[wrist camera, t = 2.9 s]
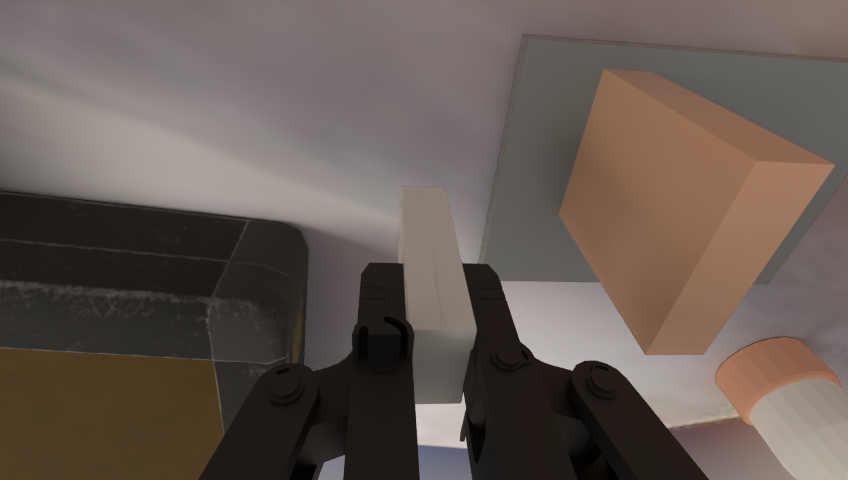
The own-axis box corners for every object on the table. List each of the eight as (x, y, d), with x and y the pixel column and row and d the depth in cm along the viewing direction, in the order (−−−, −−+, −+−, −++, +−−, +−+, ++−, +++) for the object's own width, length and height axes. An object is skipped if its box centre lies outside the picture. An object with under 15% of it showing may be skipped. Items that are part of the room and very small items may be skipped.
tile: (558, 214, 24) (645, 354, 16) (603, 68, 20) (757, 161, 12) (602, 216, 25) (709, 354, 16) (657, 72, 20) (844, 165, 12)
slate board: (477, 270, 28) (479, 280, 27) (523, 34, 19) (529, 39, 19) (757, 274, 30) (768, 284, 29) (903, 63, 22) (924, 68, 21)
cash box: (-101, 173, 21) (-302, 271, 15) (311, 220, 25) (286, 315, 19) (51, 441, 35) (-21, 549, 29) (301, 447, 39) (285, 546, 33)
